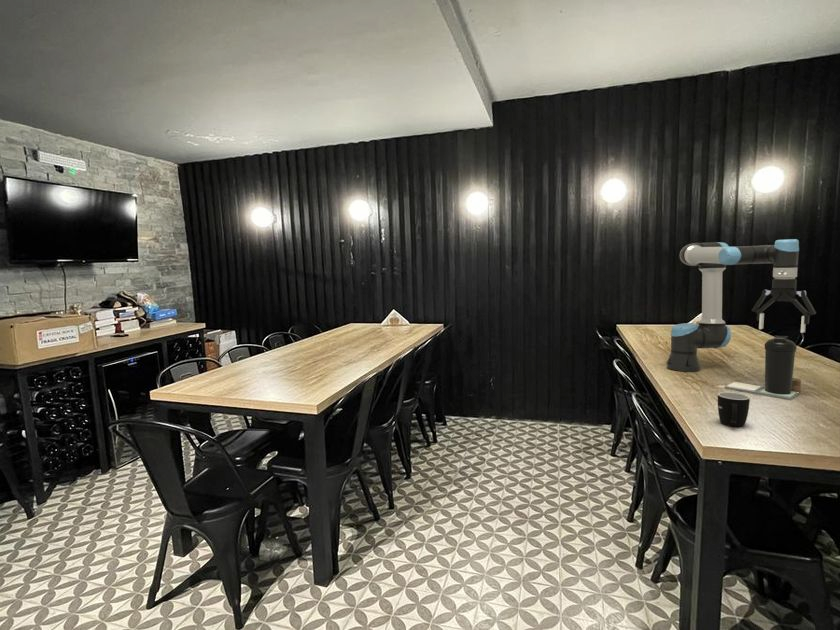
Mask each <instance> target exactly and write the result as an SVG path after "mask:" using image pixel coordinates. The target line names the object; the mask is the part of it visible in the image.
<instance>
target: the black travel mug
mask: <svg viewBox="0 0 840 630" xmlns="http://www.w3.org/2000/svg"><path fill="white" fill-rule="evenodd" d="M797 349H798V348H797V345H796V342H794V341H793V340H791V339H789V336H788V335H773V338H769V339H768V340H767V341H766V342H765V343H764V350H765V352H764V353H765V354H764V355H765V357H764V360H765V361H764V366H765V367H764V368H765V369H764V387H765V391H766V392H769V393H774V394H782V395H787V394H791V388H792V378H794V376H793V375H794V366H795V359H796V358H795V357H796V352H797Z"/></svg>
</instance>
